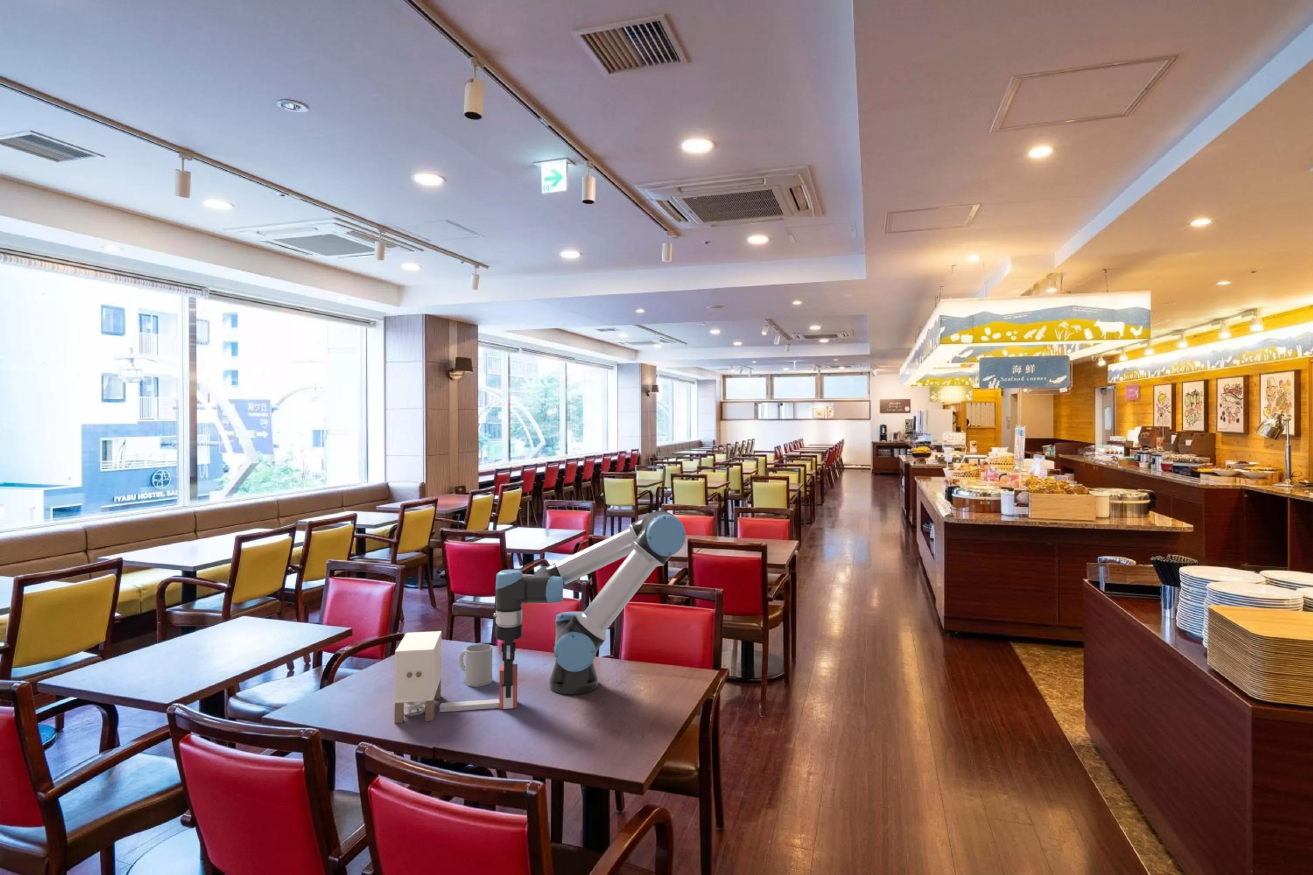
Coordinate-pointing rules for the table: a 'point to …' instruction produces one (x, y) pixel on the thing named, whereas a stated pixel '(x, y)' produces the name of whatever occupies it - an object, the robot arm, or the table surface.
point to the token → (414, 708)
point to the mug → (477, 664)
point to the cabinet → (418, 672)
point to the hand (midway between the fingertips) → (508, 703)
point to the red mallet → (484, 703)
